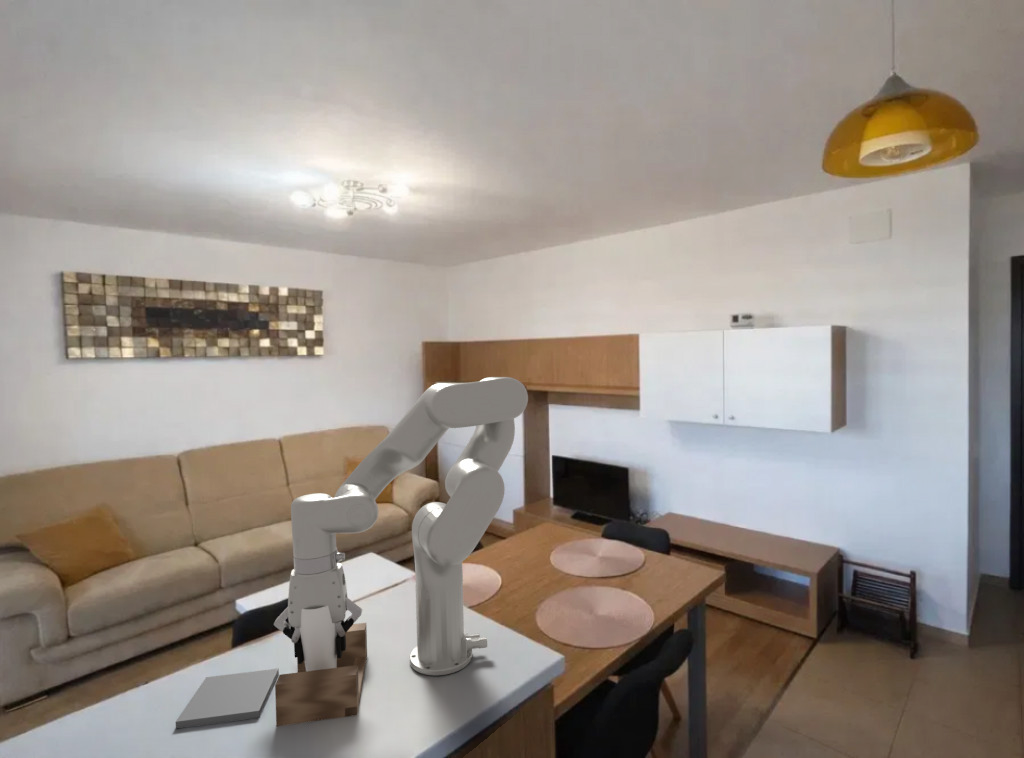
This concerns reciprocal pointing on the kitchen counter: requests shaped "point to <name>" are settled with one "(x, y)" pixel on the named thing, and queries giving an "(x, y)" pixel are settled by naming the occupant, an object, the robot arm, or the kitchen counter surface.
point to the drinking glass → (318, 639)
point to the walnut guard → (324, 686)
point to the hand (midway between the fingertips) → (321, 656)
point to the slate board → (229, 698)
